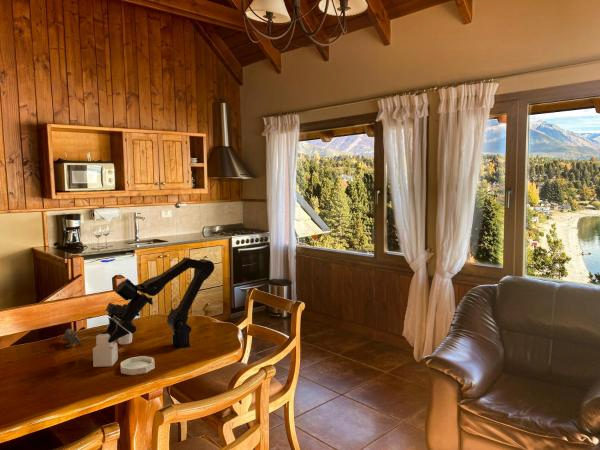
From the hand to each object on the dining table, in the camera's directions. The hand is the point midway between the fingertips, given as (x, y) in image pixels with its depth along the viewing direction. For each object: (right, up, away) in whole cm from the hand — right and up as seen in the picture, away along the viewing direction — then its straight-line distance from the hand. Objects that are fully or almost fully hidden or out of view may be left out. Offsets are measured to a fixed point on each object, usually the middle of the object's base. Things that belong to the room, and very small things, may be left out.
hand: (106, 339), depth 177 cm
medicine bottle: (0, -9, +1) cm, 9 cm away
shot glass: (-2, -7, +24) cm, 25 cm away
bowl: (+14, -10, -4) cm, 17 cm away
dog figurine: (-24, -8, +21) cm, 33 cm away
